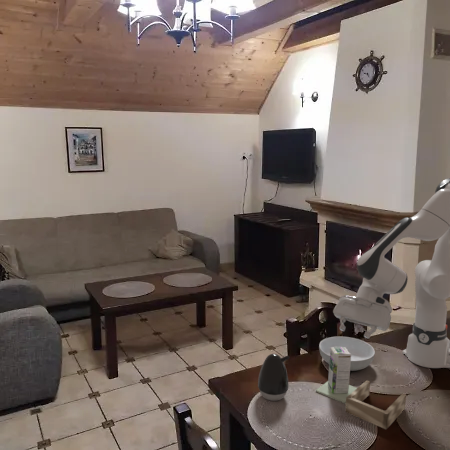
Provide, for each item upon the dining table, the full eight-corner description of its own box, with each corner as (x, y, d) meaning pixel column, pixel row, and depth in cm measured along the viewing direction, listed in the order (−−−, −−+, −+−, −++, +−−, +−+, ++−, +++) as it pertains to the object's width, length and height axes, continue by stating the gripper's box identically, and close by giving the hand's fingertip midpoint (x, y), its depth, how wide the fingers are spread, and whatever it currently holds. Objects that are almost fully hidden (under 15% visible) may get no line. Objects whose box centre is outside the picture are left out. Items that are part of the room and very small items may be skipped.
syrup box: (327, 385, 161) (329, 346, 159) (343, 384, 162) (345, 346, 159) (332, 394, 156) (334, 354, 153) (349, 393, 156) (351, 353, 153)
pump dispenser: (292, 403, 151) (294, 360, 148) (262, 406, 149) (263, 362, 146) (283, 387, 161) (284, 346, 158) (254, 389, 159) (255, 348, 156)
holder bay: (365, 393, 157) (366, 380, 156) (404, 408, 148) (406, 394, 148) (345, 411, 146) (346, 397, 146) (386, 429, 138) (387, 414, 137)
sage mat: (331, 379, 166) (331, 378, 166) (360, 390, 159) (360, 389, 159) (315, 391, 158) (315, 390, 158) (345, 403, 151) (345, 402, 151)
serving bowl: (311, 369, 174) (312, 352, 173) (326, 348, 192) (327, 332, 191) (367, 383, 164) (369, 365, 163) (378, 359, 183) (379, 343, 181)
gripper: (339, 289, 173) (324, 321, 167) (392, 302, 159) (378, 337, 154) (344, 298, 177) (330, 329, 171) (396, 311, 163) (383, 345, 158)
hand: (353, 333), depth 162 cm, fingers open, 8 cm apart
